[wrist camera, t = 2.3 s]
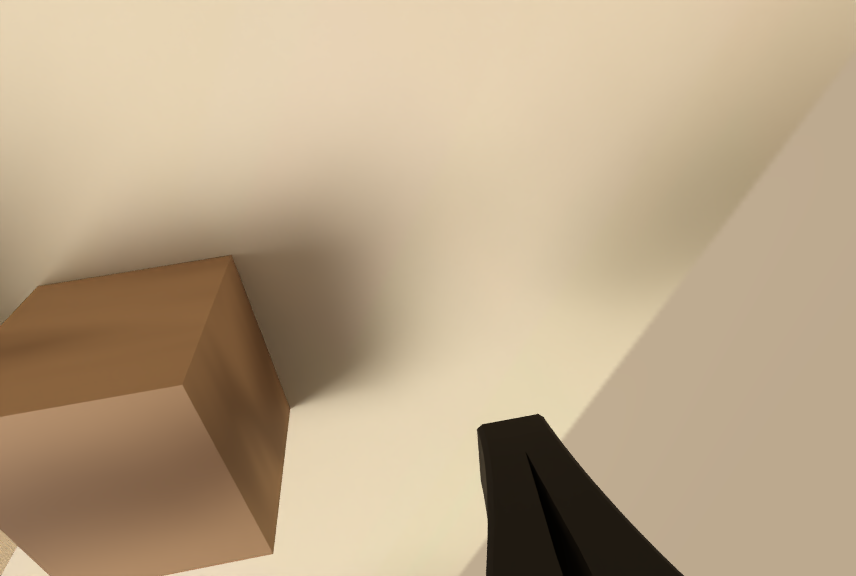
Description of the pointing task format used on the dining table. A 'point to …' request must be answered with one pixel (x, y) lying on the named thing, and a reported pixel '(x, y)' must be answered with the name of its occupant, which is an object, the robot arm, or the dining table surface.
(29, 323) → the walnut block
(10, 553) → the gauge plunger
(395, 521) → the dining table surface
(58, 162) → the dining table surface
